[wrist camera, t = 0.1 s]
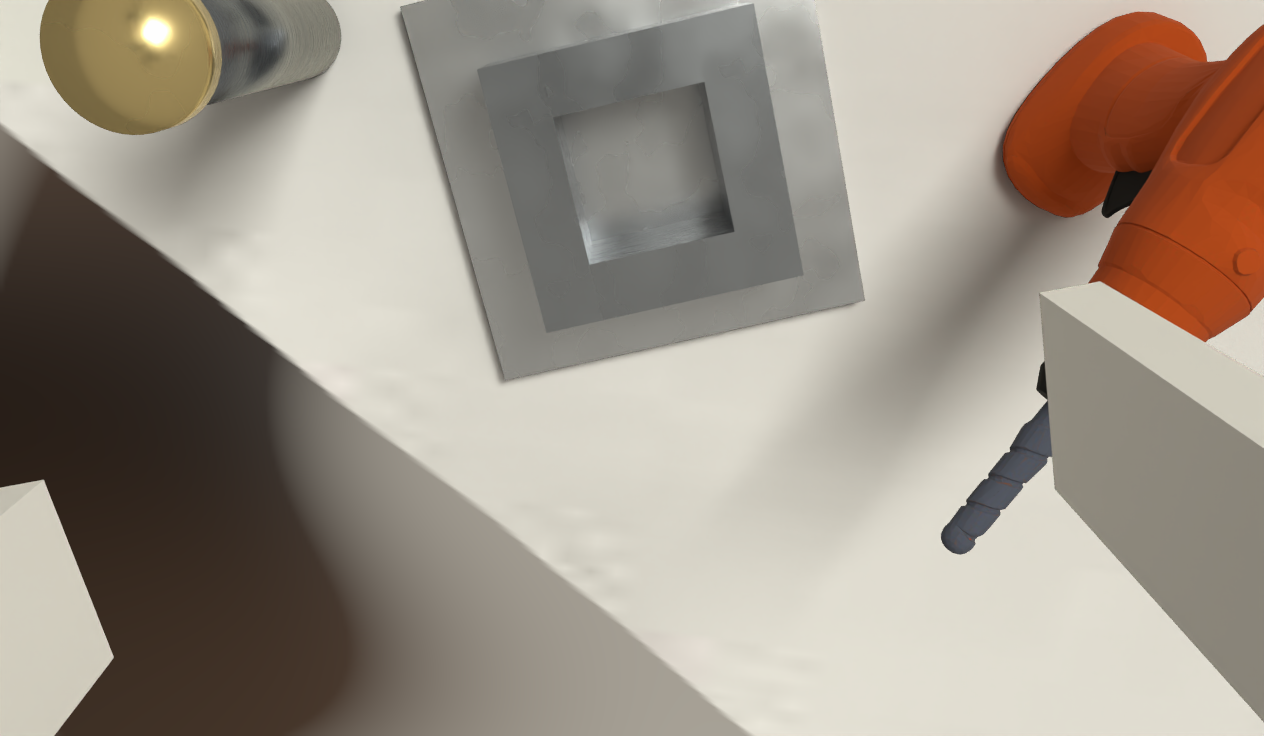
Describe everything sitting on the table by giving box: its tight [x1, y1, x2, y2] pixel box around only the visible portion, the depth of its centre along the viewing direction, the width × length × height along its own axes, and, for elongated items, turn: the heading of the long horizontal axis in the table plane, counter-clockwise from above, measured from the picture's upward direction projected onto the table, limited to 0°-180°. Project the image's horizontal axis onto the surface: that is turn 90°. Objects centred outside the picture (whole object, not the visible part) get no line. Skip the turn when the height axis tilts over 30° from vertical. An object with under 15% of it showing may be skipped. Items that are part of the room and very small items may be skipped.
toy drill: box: [941, 12, 1264, 554], centre depth 34 cm, size 5×19×15 cm, turn 142°
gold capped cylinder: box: [40, 0, 341, 135], centre depth 32 cm, size 4×4×14 cm
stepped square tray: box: [400, 0, 865, 380], centre depth 39 cm, size 14×14×4 cm
